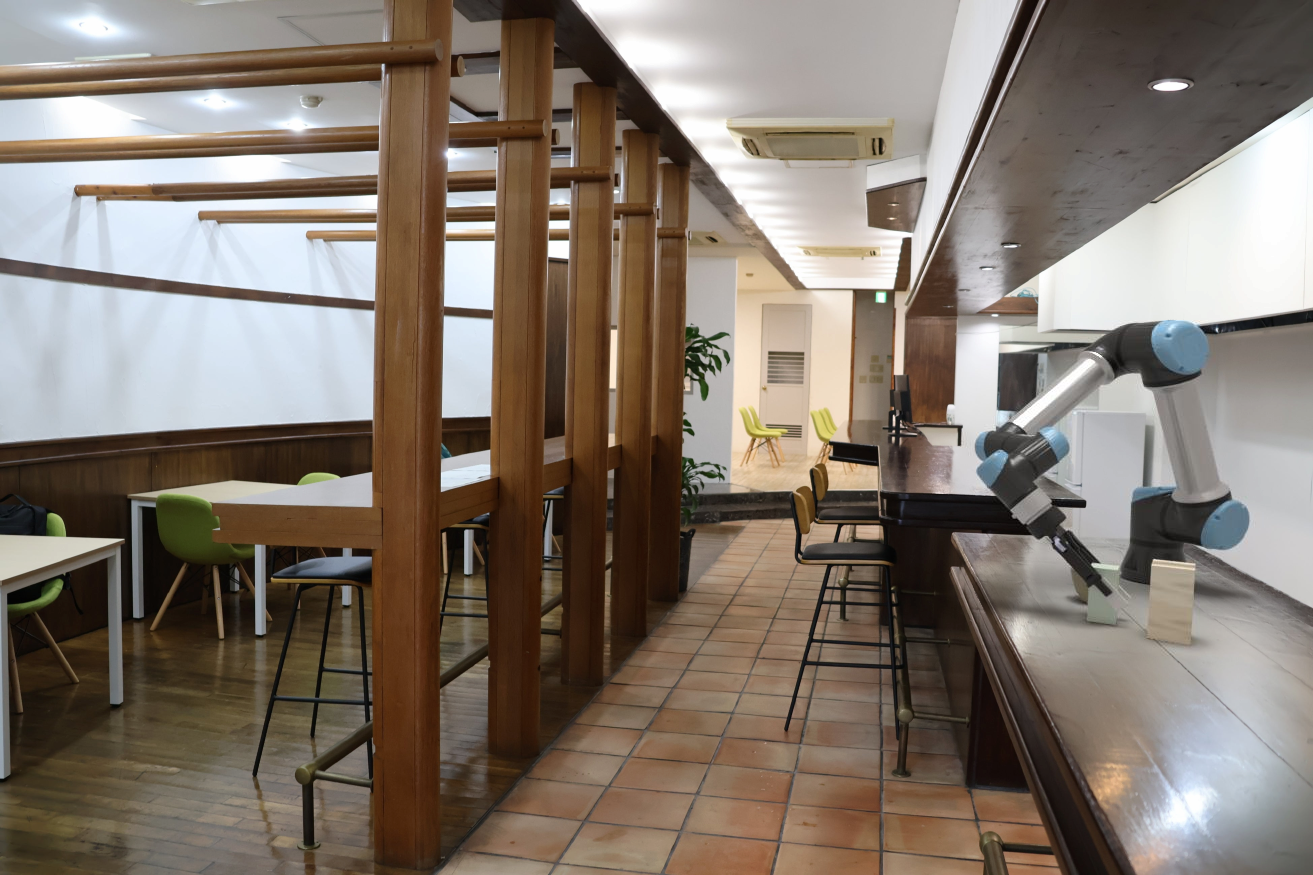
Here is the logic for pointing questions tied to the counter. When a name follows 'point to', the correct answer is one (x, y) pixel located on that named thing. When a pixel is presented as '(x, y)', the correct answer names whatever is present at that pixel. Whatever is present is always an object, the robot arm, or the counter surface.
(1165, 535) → the robot arm
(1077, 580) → the flower pot
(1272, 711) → the counter surface
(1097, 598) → the sage block
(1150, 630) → the tower base
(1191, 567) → the tower top
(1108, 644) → the counter surface
